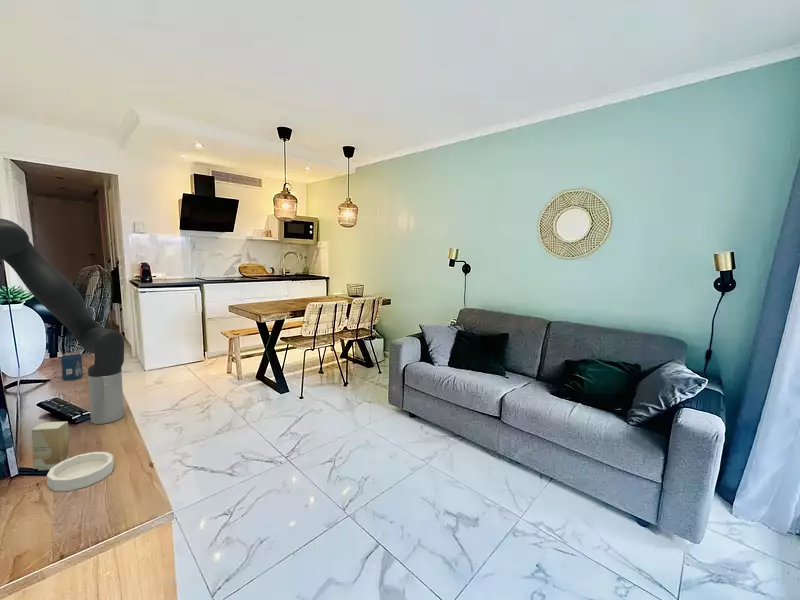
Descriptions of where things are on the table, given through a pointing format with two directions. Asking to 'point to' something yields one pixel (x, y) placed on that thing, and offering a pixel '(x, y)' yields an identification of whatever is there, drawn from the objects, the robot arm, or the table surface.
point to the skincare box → (50, 444)
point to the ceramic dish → (80, 471)
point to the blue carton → (71, 366)
